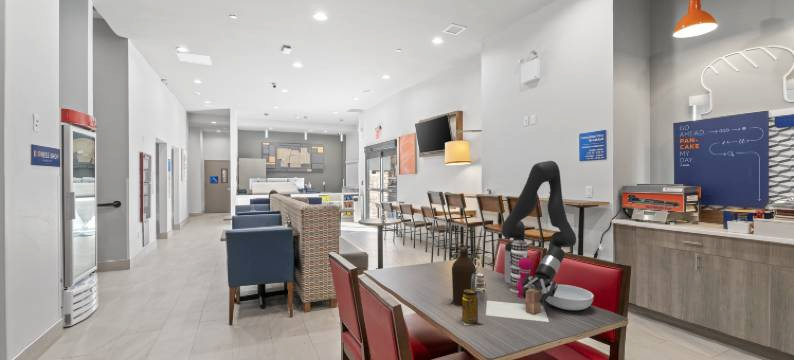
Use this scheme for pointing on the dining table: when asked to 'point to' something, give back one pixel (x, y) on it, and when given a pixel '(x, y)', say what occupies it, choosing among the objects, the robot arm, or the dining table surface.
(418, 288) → the dining table surface
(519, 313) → the rubber mat
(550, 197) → the robot arm
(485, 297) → the dining table surface
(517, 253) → the decorative candle
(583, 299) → the serving bowl
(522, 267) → the pepper mill
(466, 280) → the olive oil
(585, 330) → the dining table surface
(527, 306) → the walnut block
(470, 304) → the condiment
